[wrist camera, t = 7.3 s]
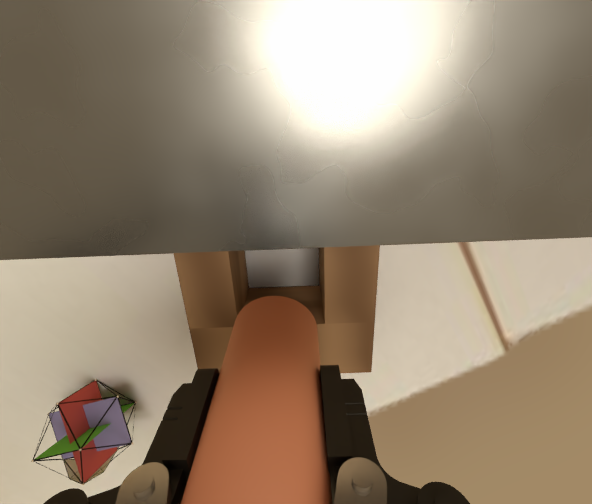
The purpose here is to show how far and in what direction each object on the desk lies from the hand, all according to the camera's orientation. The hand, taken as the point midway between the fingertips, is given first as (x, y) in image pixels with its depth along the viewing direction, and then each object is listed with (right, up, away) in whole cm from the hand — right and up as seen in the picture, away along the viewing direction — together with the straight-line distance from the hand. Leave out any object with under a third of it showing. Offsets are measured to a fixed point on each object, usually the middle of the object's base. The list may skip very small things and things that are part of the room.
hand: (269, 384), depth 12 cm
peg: (0, +1, +3) cm, 3 cm away
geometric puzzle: (-16, -8, +18) cm, 26 cm away
